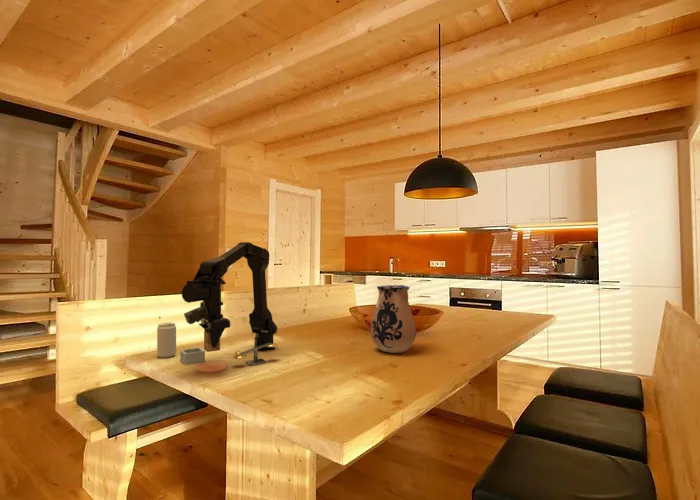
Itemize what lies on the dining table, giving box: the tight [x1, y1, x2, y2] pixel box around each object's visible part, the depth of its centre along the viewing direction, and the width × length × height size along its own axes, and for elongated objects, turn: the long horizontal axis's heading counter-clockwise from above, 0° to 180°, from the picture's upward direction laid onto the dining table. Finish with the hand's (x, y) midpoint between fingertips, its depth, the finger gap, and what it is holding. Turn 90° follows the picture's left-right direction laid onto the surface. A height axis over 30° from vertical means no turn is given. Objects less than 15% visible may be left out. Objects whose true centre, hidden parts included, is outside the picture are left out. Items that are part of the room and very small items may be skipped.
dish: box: [195, 359, 229, 374], centre depth 133 cm, size 10×10×1 cm
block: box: [203, 331, 221, 353], centre depth 133 cm, size 4×4×6 cm
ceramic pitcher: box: [370, 284, 417, 354], centre depth 158 cm, size 18×21×25 cm
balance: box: [232, 342, 279, 367], centre depth 139 cm, size 16×4×6 cm, turn 125°
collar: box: [179, 347, 206, 365], centre depth 142 cm, size 7×7×4 cm
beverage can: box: [156, 322, 177, 359], centre depth 148 cm, size 6×6×12 cm
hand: (212, 346), depth 133 cm, fingers closed on block, 4 cm apart
